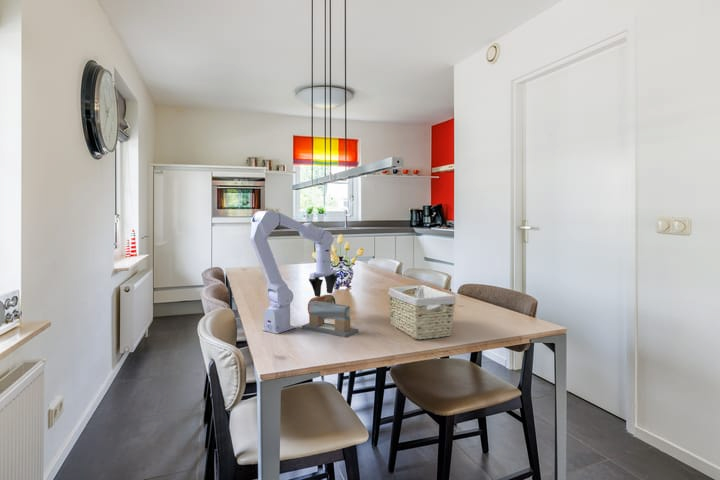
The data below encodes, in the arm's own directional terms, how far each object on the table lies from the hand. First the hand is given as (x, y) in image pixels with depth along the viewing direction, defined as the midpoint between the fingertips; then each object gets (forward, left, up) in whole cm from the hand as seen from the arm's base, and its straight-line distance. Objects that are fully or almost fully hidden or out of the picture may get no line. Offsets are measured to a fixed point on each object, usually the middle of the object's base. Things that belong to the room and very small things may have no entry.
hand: (323, 294), depth 158 cm
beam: (-9, -10, -5) cm, 14 cm away
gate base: (-9, -10, -10) cm, 17 cm away
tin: (+6, +6, -11) cm, 14 cm away
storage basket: (+9, -38, -11) cm, 40 cm away
